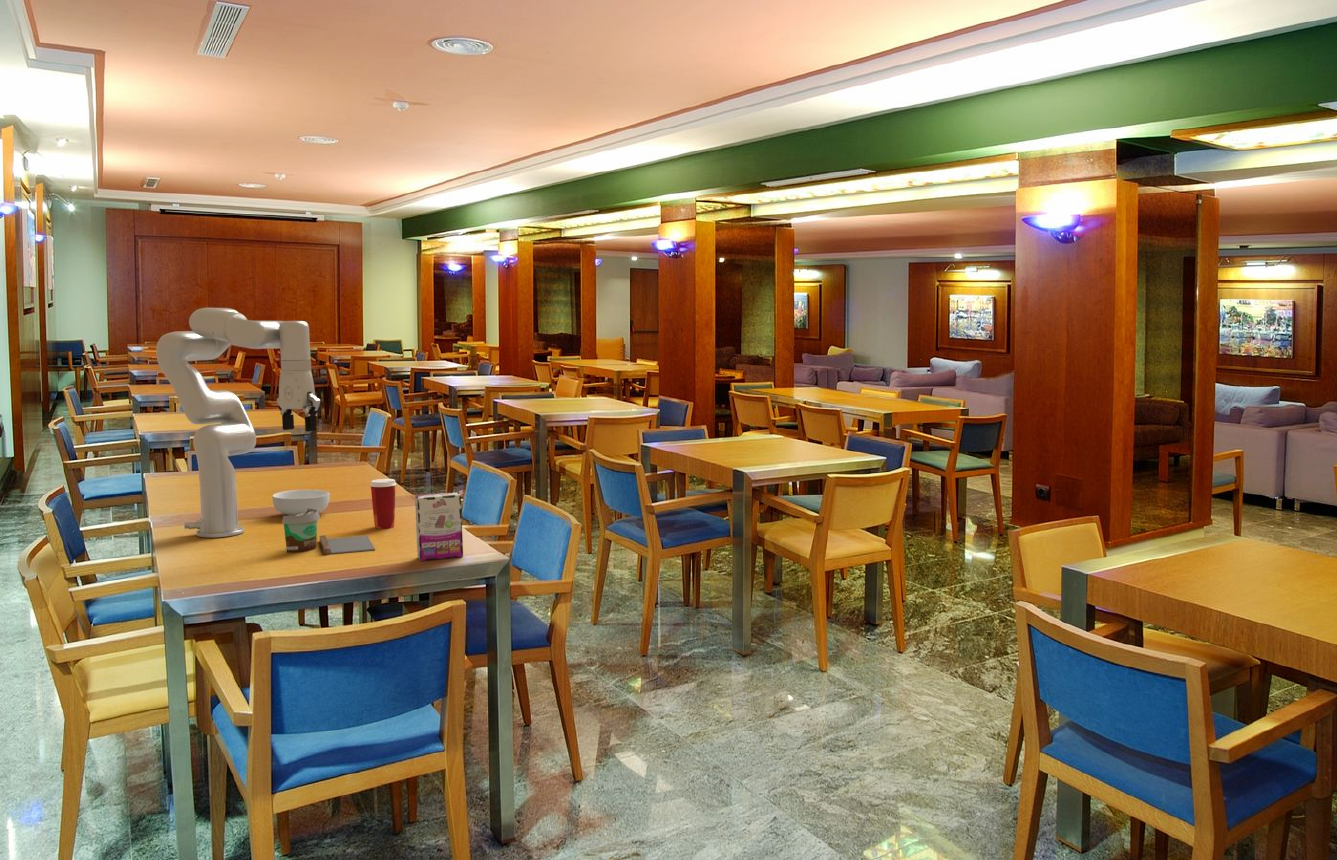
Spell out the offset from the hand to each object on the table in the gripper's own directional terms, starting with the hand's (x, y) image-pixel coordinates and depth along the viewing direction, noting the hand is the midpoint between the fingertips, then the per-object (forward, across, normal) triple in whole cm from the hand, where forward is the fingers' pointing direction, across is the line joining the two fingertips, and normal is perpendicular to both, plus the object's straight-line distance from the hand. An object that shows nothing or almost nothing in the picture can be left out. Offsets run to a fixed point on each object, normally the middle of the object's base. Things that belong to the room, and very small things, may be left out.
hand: (299, 430), depth 264 cm
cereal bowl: (+31, -37, +26) cm, 55 cm away
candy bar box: (+32, +42, +9) cm, 54 cm away
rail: (+32, +8, 0) cm, 33 cm away
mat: (+32, +11, +6) cm, 34 cm away
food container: (+32, +5, -3) cm, 32 cm away
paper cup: (+32, -1, +28) cm, 42 cm away
